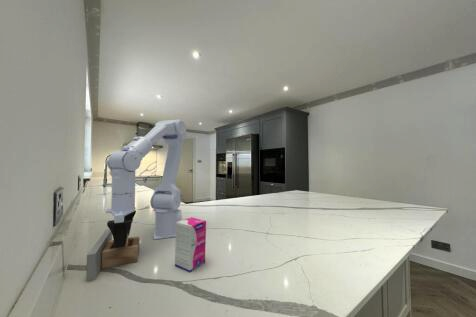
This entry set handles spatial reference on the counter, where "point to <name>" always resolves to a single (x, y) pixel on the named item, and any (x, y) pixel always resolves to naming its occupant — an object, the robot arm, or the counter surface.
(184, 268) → the supplement box
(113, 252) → the socket block
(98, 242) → the wall
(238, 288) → the counter surface
